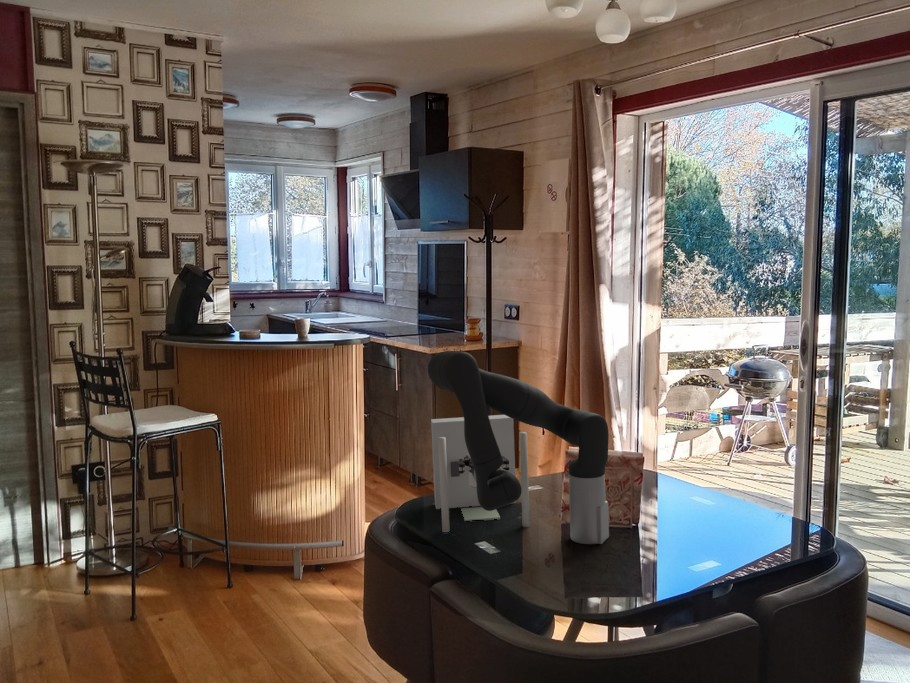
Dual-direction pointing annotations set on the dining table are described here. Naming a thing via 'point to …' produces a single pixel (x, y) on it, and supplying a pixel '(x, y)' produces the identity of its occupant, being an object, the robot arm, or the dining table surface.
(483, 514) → the pad
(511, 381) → the robot arm
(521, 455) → the cord posts
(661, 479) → the dining table surface
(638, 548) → the dining table surface
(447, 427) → the breaker panel
